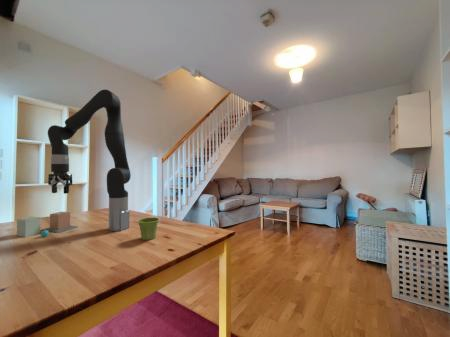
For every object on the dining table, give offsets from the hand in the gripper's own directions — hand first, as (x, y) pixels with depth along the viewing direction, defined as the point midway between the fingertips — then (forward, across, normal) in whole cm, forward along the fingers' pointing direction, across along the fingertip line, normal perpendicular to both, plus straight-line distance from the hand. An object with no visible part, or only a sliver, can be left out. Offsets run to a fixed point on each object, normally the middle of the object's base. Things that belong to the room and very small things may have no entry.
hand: (60, 193), depth 107 cm
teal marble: (+19, -6, +11) cm, 23 cm away
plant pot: (+20, -55, -1) cm, 58 cm away
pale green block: (+19, +5, +11) cm, 23 cm away
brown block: (+19, 0, 0) cm, 19 cm away
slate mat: (+19, 0, 0) cm, 19 cm away
